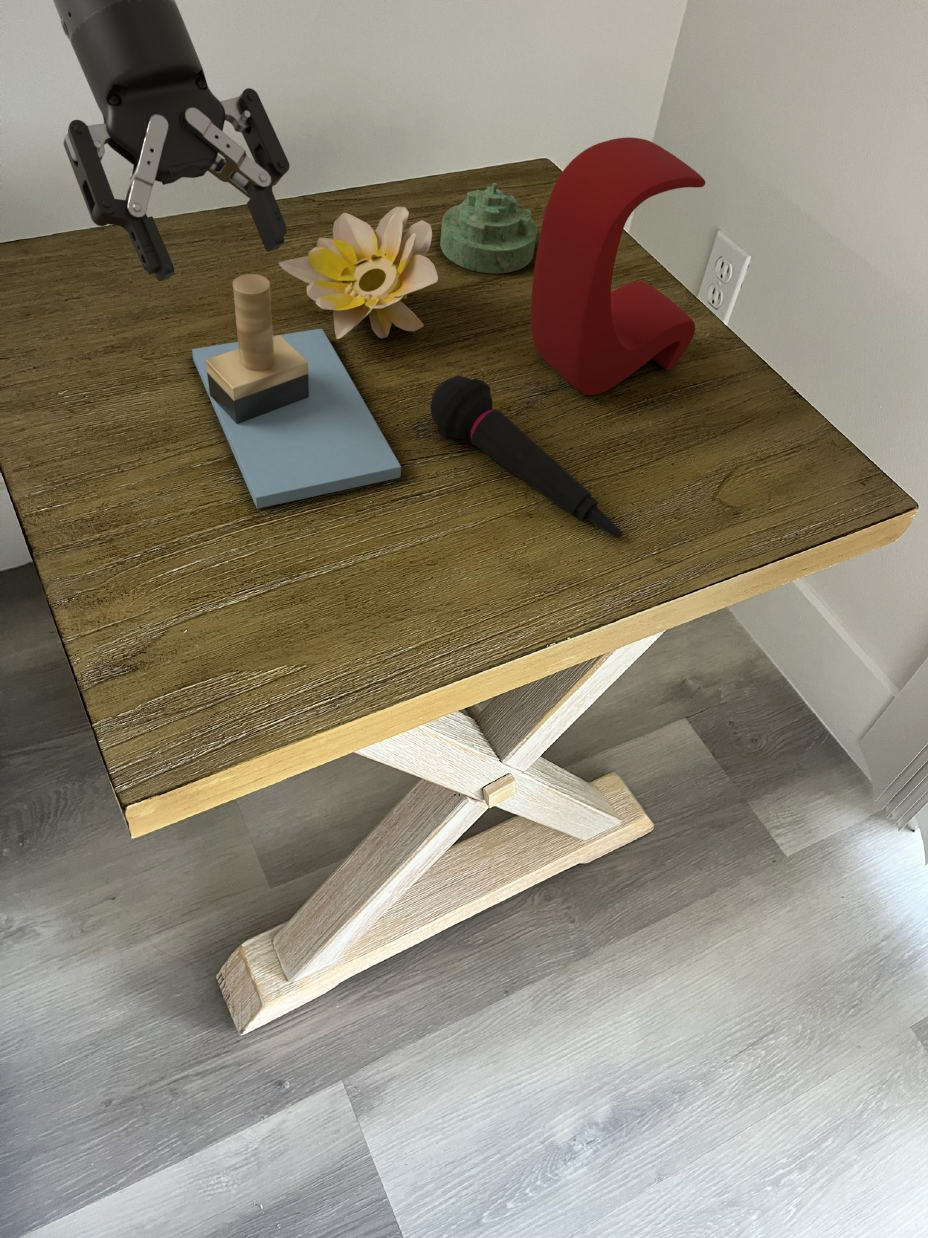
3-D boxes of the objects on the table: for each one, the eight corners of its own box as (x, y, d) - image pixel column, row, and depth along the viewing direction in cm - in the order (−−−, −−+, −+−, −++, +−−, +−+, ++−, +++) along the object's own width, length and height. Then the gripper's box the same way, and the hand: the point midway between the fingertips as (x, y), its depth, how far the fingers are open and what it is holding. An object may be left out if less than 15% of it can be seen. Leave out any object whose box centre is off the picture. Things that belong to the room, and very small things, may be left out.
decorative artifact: (517, 222, 109) (430, 226, 106) (526, 158, 103) (435, 161, 101) (545, 270, 103) (453, 276, 100) (557, 206, 97) (460, 210, 95)
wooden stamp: (236, 424, 80) (225, 311, 72) (209, 395, 83) (195, 281, 74) (309, 397, 84) (306, 285, 76) (281, 369, 86) (275, 257, 78)
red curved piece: (562, 408, 88) (608, 191, 73) (516, 363, 92) (551, 148, 76) (685, 366, 94) (752, 158, 79) (637, 325, 98) (693, 119, 83)
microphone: (618, 553, 81) (446, 412, 87) (653, 499, 78) (471, 356, 83) (586, 572, 77) (407, 423, 83) (621, 516, 74) (433, 365, 79)
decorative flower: (262, 259, 95) (283, 160, 89) (365, 265, 101) (392, 174, 95) (317, 356, 88) (346, 257, 81) (425, 357, 94) (460, 264, 87)
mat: (256, 509, 76) (255, 497, 75) (193, 360, 87) (191, 348, 86) (400, 477, 80) (401, 466, 79) (322, 338, 91) (322, 327, 90)
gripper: (25, 5, 59) (140, 270, 62) (235, -22, 66) (330, 219, 69) (11, 67, 66) (117, 304, 69) (204, 37, 72) (292, 254, 75)
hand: (223, 261), depth 69 cm, fingers open, 8 cm apart
